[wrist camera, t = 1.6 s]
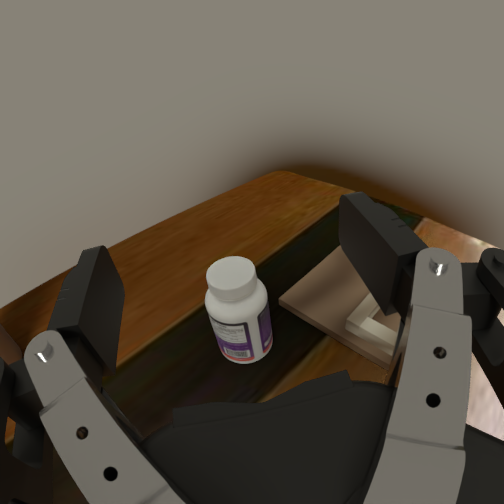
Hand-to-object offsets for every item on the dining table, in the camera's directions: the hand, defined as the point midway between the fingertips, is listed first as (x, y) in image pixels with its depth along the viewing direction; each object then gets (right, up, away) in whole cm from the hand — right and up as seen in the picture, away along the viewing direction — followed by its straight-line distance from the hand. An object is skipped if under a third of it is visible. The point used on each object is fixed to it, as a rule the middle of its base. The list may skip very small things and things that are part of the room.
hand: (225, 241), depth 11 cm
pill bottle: (0, -10, +21) cm, 23 cm away
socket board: (+14, -7, +22) cm, 27 cm away
